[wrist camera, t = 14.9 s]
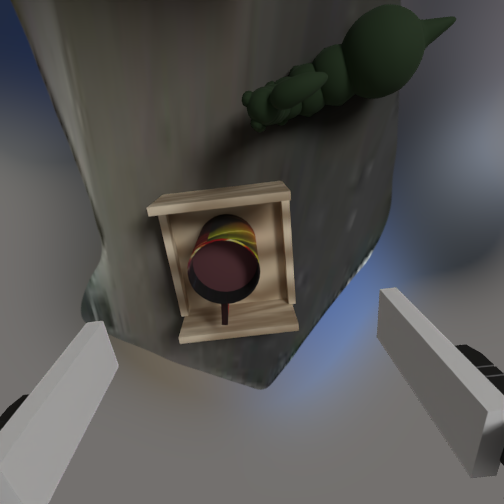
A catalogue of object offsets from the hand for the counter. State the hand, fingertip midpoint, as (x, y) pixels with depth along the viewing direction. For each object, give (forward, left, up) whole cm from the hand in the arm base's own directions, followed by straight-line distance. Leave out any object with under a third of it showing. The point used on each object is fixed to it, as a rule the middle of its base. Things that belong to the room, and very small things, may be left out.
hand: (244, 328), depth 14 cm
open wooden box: (+11, -3, -37) cm, 38 cm away
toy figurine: (-14, +14, -37) cm, 42 cm away
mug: (+10, -3, -36) cm, 38 cm away
